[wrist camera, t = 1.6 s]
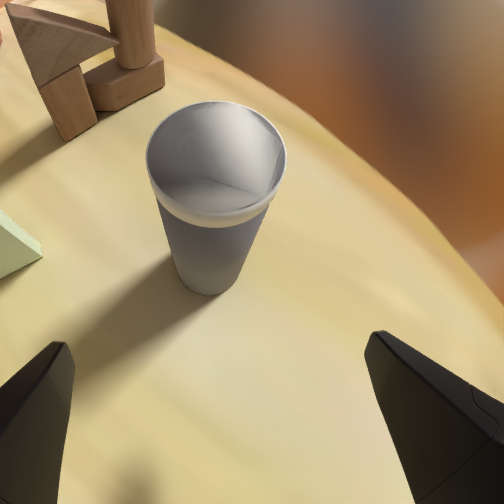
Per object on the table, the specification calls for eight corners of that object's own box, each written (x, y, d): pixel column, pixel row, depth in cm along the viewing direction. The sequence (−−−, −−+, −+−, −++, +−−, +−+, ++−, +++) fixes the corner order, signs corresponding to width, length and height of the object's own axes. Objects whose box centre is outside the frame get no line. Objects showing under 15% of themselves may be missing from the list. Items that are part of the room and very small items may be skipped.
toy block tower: (54, 122, 24) (-9, -37, 7) (148, 69, 27) (140, -92, 10) (66, 145, 23) (-7, -31, 6) (167, 87, 27) (164, -91, 10)
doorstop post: (252, 278, 22) (312, 181, 10) (193, 307, 21) (178, 239, 9) (222, 223, 23) (246, 88, 11) (165, 249, 22) (128, 126, 10)
